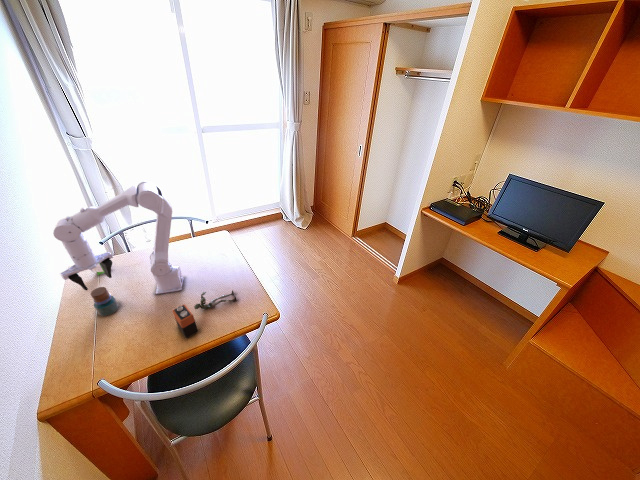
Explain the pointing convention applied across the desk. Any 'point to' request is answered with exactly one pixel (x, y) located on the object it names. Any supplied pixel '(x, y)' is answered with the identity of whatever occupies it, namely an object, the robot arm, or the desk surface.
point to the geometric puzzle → (98, 269)
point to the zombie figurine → (212, 303)
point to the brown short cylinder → (100, 294)
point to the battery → (185, 320)
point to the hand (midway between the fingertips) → (97, 282)
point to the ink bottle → (106, 306)
